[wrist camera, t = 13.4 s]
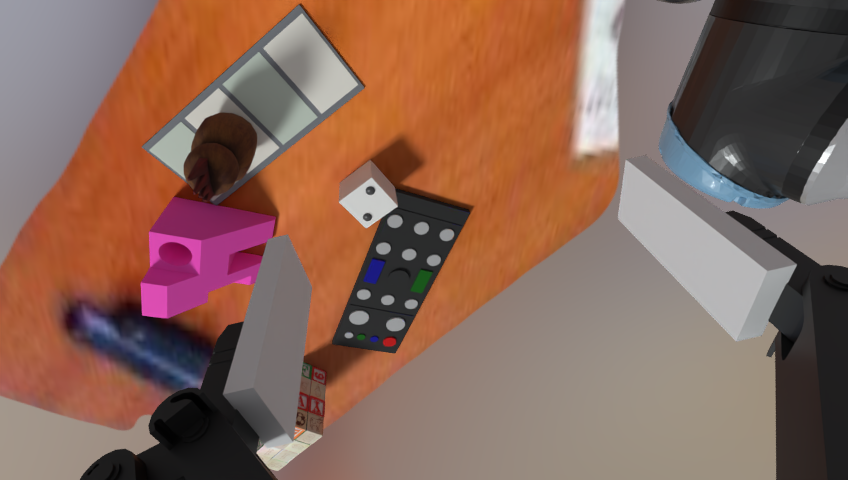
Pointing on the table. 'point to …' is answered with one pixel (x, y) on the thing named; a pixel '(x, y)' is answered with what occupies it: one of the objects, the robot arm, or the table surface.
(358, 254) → the table surface
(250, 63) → the game mat
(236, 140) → the wooden figurine
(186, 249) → the bracket
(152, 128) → the table surface
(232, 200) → the table surface
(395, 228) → the remote control
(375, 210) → the die
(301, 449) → the stack of blocks
